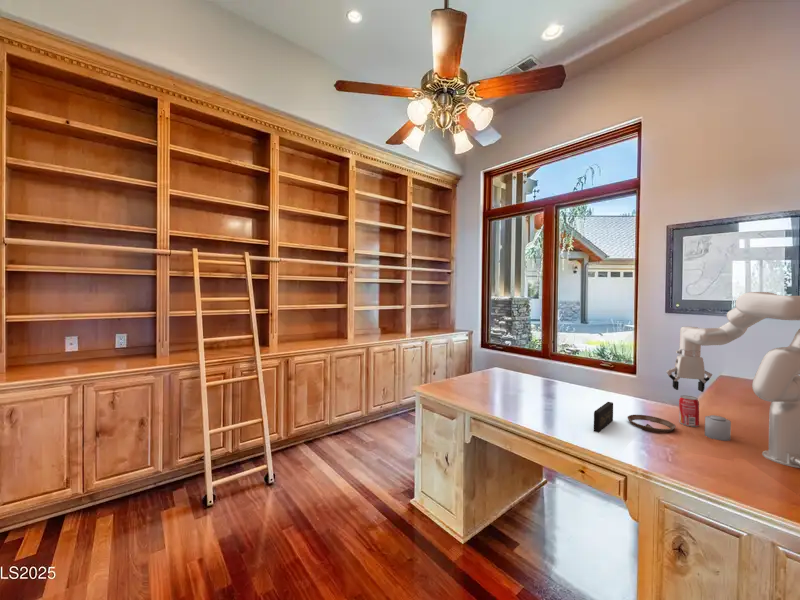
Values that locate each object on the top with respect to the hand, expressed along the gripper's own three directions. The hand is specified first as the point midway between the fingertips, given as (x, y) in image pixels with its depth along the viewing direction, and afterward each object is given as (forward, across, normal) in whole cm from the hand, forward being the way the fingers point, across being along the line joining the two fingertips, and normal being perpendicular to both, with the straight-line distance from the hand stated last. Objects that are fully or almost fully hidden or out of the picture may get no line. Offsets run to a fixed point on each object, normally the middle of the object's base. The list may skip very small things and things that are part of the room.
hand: (688, 390), depth 160 cm
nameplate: (+17, -39, -17) cm, 45 cm away
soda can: (+16, 0, -1) cm, 16 cm away
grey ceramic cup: (+16, +4, -15) cm, 22 cm away
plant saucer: (+17, -18, -9) cm, 26 cm away
